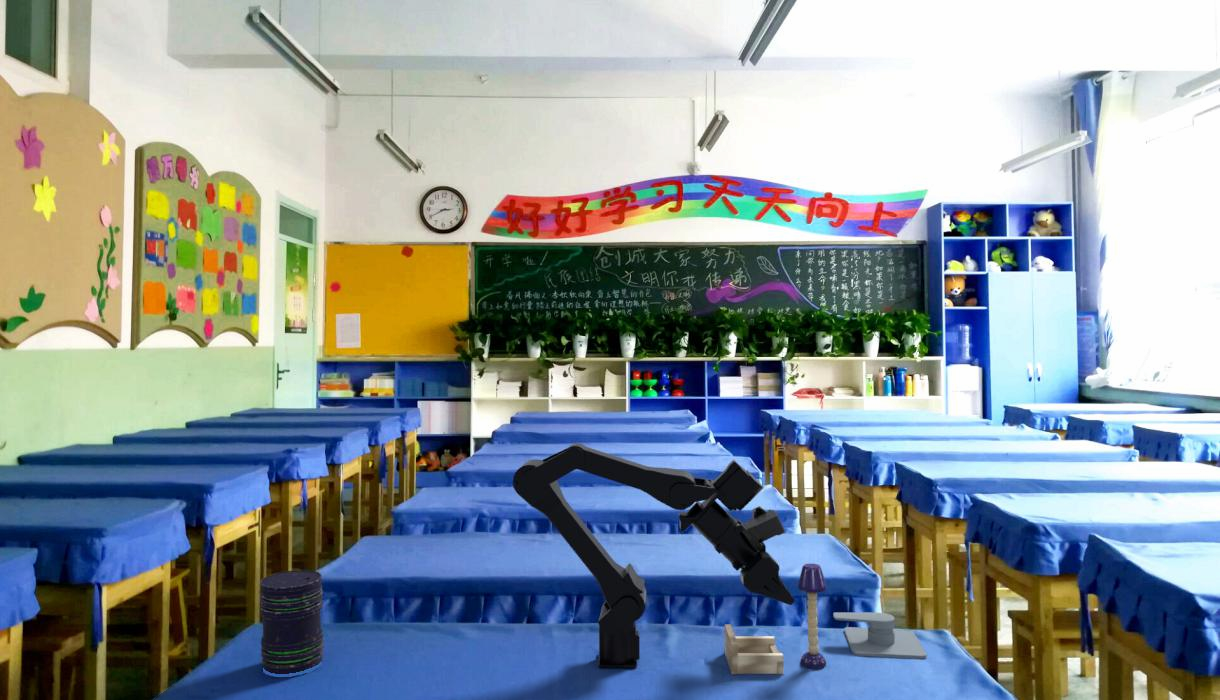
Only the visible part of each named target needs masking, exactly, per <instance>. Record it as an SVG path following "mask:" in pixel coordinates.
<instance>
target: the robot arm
mask: <svg viewBox="0 0 1220 700" xmlns="http://www.w3.org/2000/svg"><path fill="white" fill-rule="evenodd" d="M575 470H579V471H582V472H585V473H588V474H591V475H594V476H597V477H599V478H603V479H606V480H609V481H612V482H615V483H619V484H621V485H625V486H628V487H630V488H634V489H637V490H640V491H641V492H644V493H646V494H647V495H649V496H650V497H652V498H654V500H656V501H657V502H660V503H662V504H663V505H666V506H667V507H669V508H671V509H673V510H677V511H680V512H678V518H679V530H680V532H682V533H684V532H686V530H687V529H688V528H689V527H690V526H692V527H693V528H694V529H696V531H698V533H700V534H701V535H702V537H703V538H705V540H707V541H708V542H709V543H710V544H711V545H712V547H713V548H714V550H715V551H716V552H717V553H718V554H719V555H720V554H721V555H722V556H723V557H724V558H725V559H726V560H728V562H730V564H731V565H732V567H733V568H734V570H736V571H737V572H738V571H740V572H739V573H740V577H739V578H740V581H741V583H742V586H743V587H745V589H747V590H748V592H750V594H758V595H761V596H763V597H765V598H766V597H767V598H769V599H772V600H776V601H778V602H781V603H784V604H786V605H788V606H791V605H793V604H794V603H795V602H796V599H795V598H794V597H793V595H792V594H791V592H790V591H789V590H788V588H787V587H786V585H785V583H784V581H783V579H782V578H781V577H780V575H779V572H780V570H781V569H780V568H781V567H780V565H779V563H778V562H777V561H776V559H774V557H773V556H772V555H771V554H770V553H768V551H767V550H766V549H767V548H766V544H765V542H766V541H767V540H769V539H772V538H773V537H776V536H781V535H783V534H784V533H785V532H786V529H785V527H784V525H783V524H782V521H781V520H780V518H779V517H780V516H778V515H779V514H778V513H777V512H776V511H775V510H774V509H770V508H769V509H767V510H765V508H763V507H761V506H760V505H759V506H757V507H754V508H753V509H752V515H751V516H752V517H751V518H749V520H748V521H746V522H745V523H743V522H742V521H741V520H740V519H736V518H734V517H733V516H732V515H731V514H730V513H729V512H727V510H726V509H725V508H727V509H728V510H729V511H731V512H733V511H734V512H736V511H737V510H738V511H739V512H742V511H743V509H745V507H746V506H748V504H749V503H750V502H751V501H752V500H753V499H754V498H755V497H756V496H757V495H758V494H759V493H760V492H761V491H762V490H763V489H764V488H765V487H764V486H763V484H761V482H760V481H759V480H758V479H757V478H756V477H755V476H754V475H753V474H752V473H751V472H750V471H749V470H748V469H747V470H746V469H745V468H744V467H743V465H740V464H739V463H738V462H737V461H736V459H735V460H734V459H733V460H731V461H730V462H729V463H728V465H727V466H726V468H725V469H724V470H723V471H722V472H721V473H720V474H719V475H717V477H716V478H715V479H714V480H713V479H710V478H709V479H708V478H703V477H702V478H701V477H696V476H695V477H694V476H693V474H692V473H690V472H688V471H687V470H683V469H676V468H670V467H654V466H648V465H644V464H641V463H637V462H635V461H631V460H629V459H626V458H622V457H620V456H619V457H618V456H616V455H613V454H610V453H607V452H604V451H600V450H597V449H595V448H591V447H588V446H586V445H585V444H583V443H579V442H575V443H572V444H570V445H569V446H568V447H566V448H564V449H562V450H560V451H558V452H555V453H554V454H551V455H549V456H547V457H545V458H543V459H535V458H534V459H530V460H527V461H526V462H524V463H523V464H522V465H521V466H520V467H519V468H518V469H517V470H516V471H515V473H514V475H513V477H512V478H513V480H512V486H513V489H514V491H515V493H516V494H517V495H518V496H519V497H521V498H522V499H523V500H524V501H525V502H526V503H527V504H528V505H529V506H530V507H532V508H534V509H535V510H537V511H539V512H540V513H541V514H543V515H544V516H545V517H547V519H548V521H550V522H551V524H552V525H553V526H554V528H555V529H556V530H557V532H558V533H559V535H561V536H562V538H563V540H565V541H566V543H567V544H568V545H569V547H570V548H571V549H572V550H573V552H574V553H575V555H577V557H578V558H579V559H580V561H581V562H582V563H583V565H585V567H586V569H587V570H588V571H589V572H590V573H591V574H592V576H593V577H594V579H595V580H596V581H597V583H598V586H599V588H600V590H601V593H602V596H603V598H604V600H605V602H604V603H603V604H602V607H601V610H600V615H599V618H598V623H597V624H598V658H597V659H598V661H597V666H598V668H637V667H638V661H639V660H640V657H641V656H640V647H641V646H640V631H639V630H637V621H638V620H640V618H642V617H643V615H644V613H645V610H646V609H645V608H646V602H647V601H646V599H647V589H646V586H645V579H644V578H643V577H640V575H639V574H638V573H637V572H636V570H635V568H634V567H633V565H632V564H631V563H628V564H627V565H626V566H625V567H623V566H622V565H620V564H618V563H617V562H616V561H615V560H614V559H613V558H612V557H611V555H610V554H609V553H608V552H607V550H606V549H605V548H604V547H603V545H602V543H600V542H599V540H598V539H597V538H596V536H595V535H594V533H592V531H591V530H590V529H589V528H588V526H587V525H586V524H585V522H584V521H583V520H582V519H581V517H580V516H579V514H577V513H576V511H575V510H574V509H573V507H572V506H571V505H570V503H569V502H568V501H567V500H566V498H565V495H564V494H563V491H562V489H561V486H560V483H559V481H558V480H560V479H561V478H563V477H564V476H567V475H568V474H570V473H571V472H573V471H575ZM717 499H718V501H720V503H721V504H722V505H724V506H725V508H724V507H723V506H721V505H720V503H719V502H718V501H717ZM687 509H688V510H687ZM685 510H687V511H685ZM681 511H683V512H681Z"/></svg>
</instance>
